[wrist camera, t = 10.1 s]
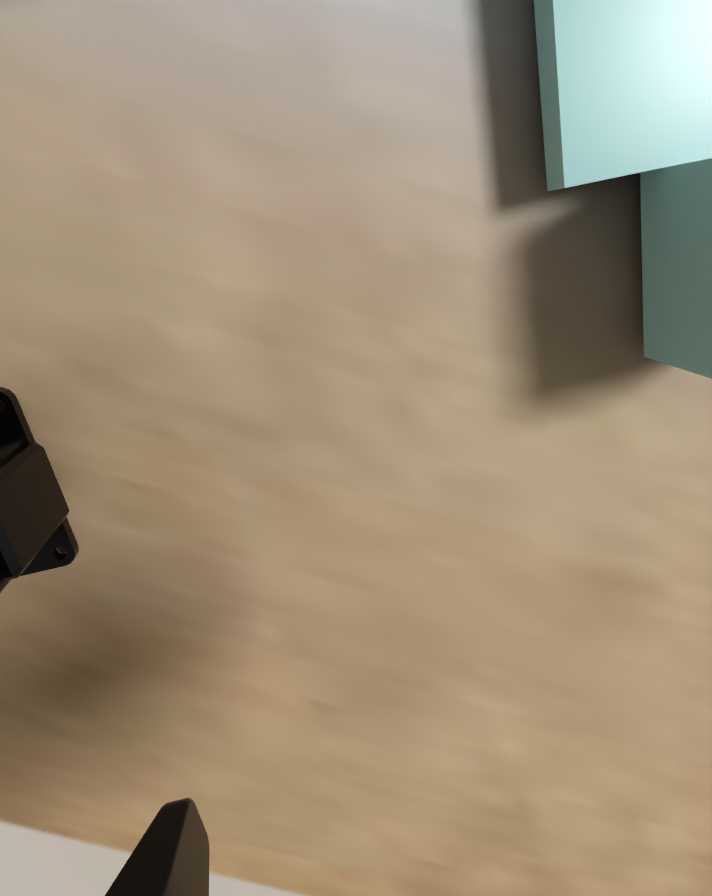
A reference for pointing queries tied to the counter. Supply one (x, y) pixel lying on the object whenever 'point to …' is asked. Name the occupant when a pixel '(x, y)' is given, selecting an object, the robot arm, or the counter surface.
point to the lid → (640, 143)
